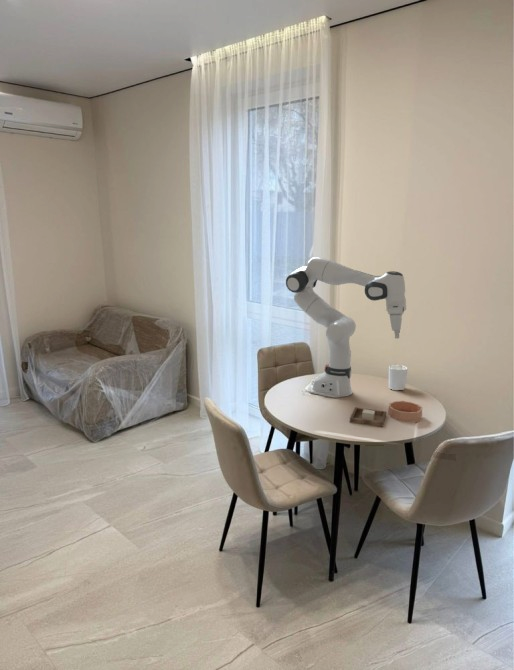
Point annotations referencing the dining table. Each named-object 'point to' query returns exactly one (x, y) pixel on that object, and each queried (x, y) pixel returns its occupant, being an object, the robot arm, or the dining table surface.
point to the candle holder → (397, 377)
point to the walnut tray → (378, 420)
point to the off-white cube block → (368, 414)
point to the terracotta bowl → (405, 411)
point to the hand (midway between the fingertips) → (397, 335)
